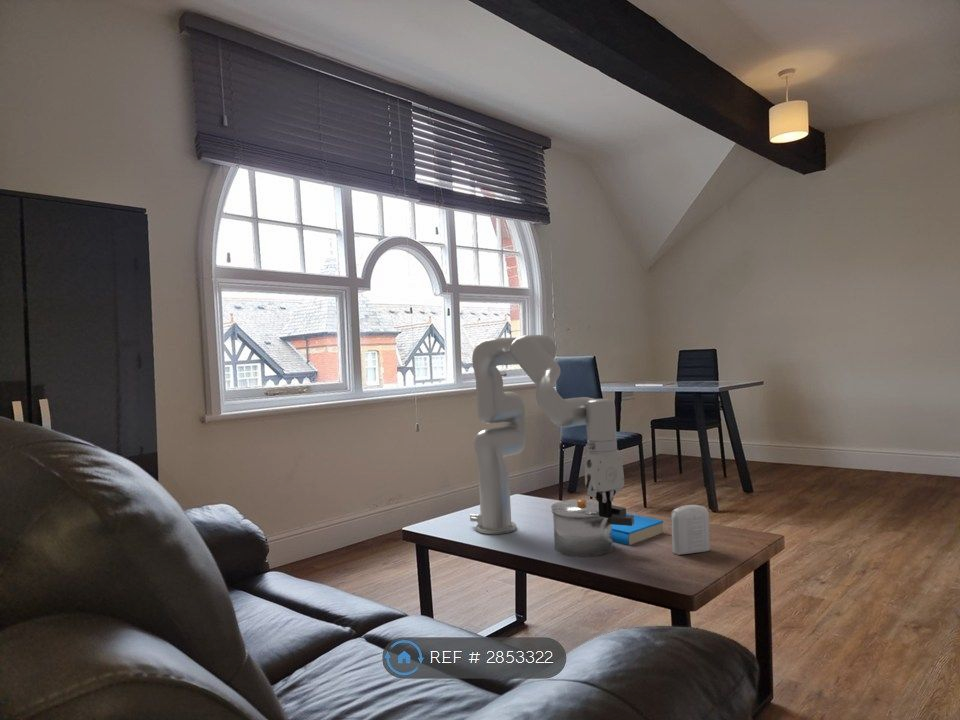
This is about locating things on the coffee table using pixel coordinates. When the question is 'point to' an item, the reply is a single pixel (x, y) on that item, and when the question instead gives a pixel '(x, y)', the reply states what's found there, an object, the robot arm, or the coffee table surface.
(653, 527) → the book
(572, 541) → the cooker pot
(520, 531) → the coffee table surface
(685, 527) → the white arched block
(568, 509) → the lid
